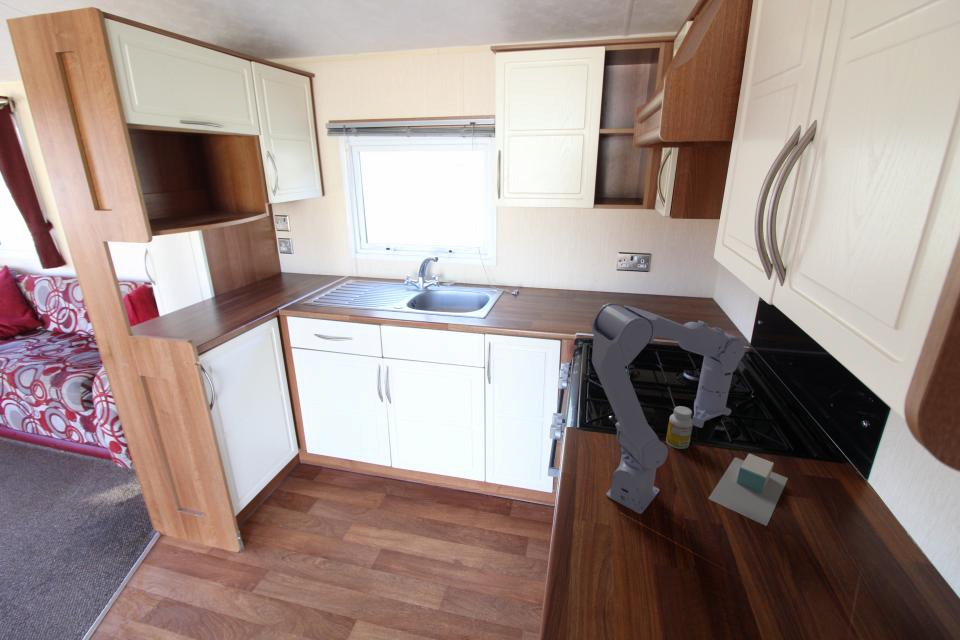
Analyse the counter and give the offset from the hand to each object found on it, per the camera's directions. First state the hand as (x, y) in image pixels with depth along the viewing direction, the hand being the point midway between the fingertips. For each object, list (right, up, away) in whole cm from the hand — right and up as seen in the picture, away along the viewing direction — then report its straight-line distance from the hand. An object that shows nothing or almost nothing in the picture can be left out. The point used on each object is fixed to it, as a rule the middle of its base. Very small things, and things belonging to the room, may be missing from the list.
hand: (702, 440), depth 100 cm
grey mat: (+10, -11, 0) cm, 15 cm away
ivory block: (+10, -8, -1) cm, 13 cm away
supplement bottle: (+1, -5, +16) cm, 16 cm away
